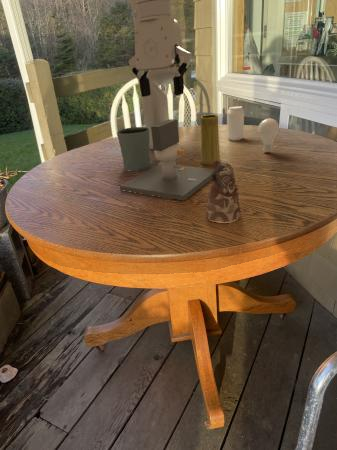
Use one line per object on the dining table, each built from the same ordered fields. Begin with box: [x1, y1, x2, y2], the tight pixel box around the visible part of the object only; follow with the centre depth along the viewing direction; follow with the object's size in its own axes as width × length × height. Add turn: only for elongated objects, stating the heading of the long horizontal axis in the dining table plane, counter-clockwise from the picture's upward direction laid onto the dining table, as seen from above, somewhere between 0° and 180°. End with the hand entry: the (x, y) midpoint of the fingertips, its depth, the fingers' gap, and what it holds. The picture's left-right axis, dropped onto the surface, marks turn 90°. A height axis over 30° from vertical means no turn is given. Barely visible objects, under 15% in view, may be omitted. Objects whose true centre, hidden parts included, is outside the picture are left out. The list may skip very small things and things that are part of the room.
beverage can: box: [226, 105, 245, 142], centre depth 123 cm, size 6×6×12 cm
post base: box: [119, 159, 215, 202], centre depth 89 cm, size 20×20×7 cm
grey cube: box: [151, 118, 186, 162], centre depth 84 cm, size 9×9×9 cm
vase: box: [200, 114, 221, 166], centre depth 100 cm, size 6×6×14 cm
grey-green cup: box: [116, 126, 151, 172], centre depth 103 cm, size 10×10×12 cm
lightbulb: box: [257, 117, 280, 154], centre depth 104 cm, size 6×6×11 cm
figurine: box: [205, 160, 241, 222], centre depth 66 cm, size 7×7×12 cm
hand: (162, 95), depth 79 cm, fingers open, 9 cm apart
